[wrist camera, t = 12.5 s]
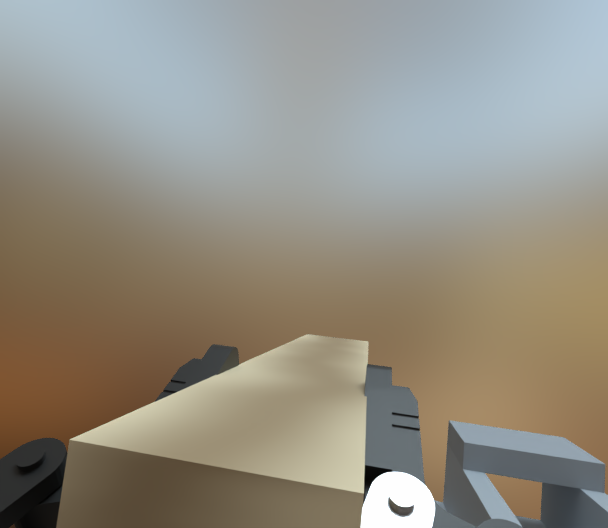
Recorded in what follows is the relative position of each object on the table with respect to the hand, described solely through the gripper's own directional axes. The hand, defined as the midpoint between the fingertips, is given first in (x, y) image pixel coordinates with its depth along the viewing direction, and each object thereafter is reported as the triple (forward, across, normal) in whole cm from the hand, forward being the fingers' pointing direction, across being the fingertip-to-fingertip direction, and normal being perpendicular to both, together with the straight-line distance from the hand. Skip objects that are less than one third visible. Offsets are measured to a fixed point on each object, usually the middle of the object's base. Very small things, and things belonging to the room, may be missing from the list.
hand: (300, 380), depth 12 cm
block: (+2, 0, -5) cm, 5 cm away
